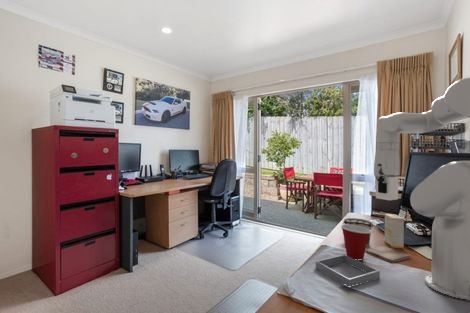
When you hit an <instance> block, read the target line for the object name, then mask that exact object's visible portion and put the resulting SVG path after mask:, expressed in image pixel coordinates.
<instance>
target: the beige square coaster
mask: <svg viewBox="0 0 470 313" xmlns="http://www.w3.org/2000/svg"><path fill="white" fill-rule="evenodd" d="M365 253H367V254H369V255H372V256H374V257H376V258H379V259H382V260H384V261H387V262H390V263H393V264H394V263H397V262H401V261H404V260H407V259H410V258H411V255H410V254H407V253H405V252H401V251H398V250H396V249H393V248H392V247H391V248H389V247H387V246H385V245H379V246H376V247H372V248H371V247H370V248H368V249H367V248H366V250H365Z"/></svg>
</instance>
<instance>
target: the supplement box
mask: <svg viewBox="0 0 470 313" xmlns="http://www.w3.org/2000/svg"><path fill="white" fill-rule="evenodd" d="M404 224H405V220H404V218H403V217H401V216H399V215H397V214H393V213H385V214H384V242H385V243H387V245H389V246H390V247H391V248H392V249H393V248H395V249H404V231H405V230H404V226H405V225H404Z"/></svg>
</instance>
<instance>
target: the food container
mask: <svg viewBox="0 0 470 313" xmlns="http://www.w3.org/2000/svg"><path fill="white" fill-rule="evenodd" d="M343 224H349V225H356V226H361V227H365V228H367V229H370V230H371V231H372V229H373V228H374V225H373V222H372V221H370V220H367V219H363V218H355V217H348V218H344V219H343V223H342V225H343ZM371 233H372V232H371ZM371 233H370V235H369V238H368V241H367V246H369V245H370V242H371V235H372V234H371Z"/></svg>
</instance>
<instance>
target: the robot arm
mask: <svg viewBox="0 0 470 313" xmlns="http://www.w3.org/2000/svg"><path fill="white" fill-rule="evenodd" d="M430 108H431V109H430V110H428V111H425V112H419V113H417V112H396V113H392V114H390V115H386V116H381V117H378V118H377V127H376V128H377V130H376V131H377V132H376V137H377V138H376V151H375V155H374V164H373V176H374V177H375V180H376V179H377V182H378V192H379V193H387V183H386V177H387V176H394V177H398V178H399V177H400V175H401V171H400V170H401V169H400V168H401V166H400V165H401V162H400V134H419V135H420V134H425V133H429V132H434V131H437V130H440V129H444V128H445V127H447V126H448V125H450V124H451V123H454V122H459V121H461V120H465V119H470V77H466V78H462V79H458V80H456V81H455V82H453V83H452V84H451V85H450V86H448V88H447V89H446V91H445V93H444V95H441V96H439V97H438V98H436V99H434V101H432V103H431V106H430ZM382 177H383V178H382ZM409 200H410V206H411V207H412V209H413V210H414V211H415V212H416V213H417V214H419V215H422V216H424V217H428V218H434V220H433V222H432V227H431V228H432V230H431V265H430V266H431V269H430V272H431V273H430V274H429V275H426V276H425V277H424V283H425V282H426V283H425V284H426V285H427V286H428V287H429V288H430V287H431V288H430V289H432V288H433V289H434V291H435V290H436V291H435V292H437V291H439V292H441V293H440V294H442V293H445V294H447V295H450V296H453V297H456V298H455V299H457V298H462V299H470V160H456V161H450V162H448V163H446V164H443V165H442V166H440V167H438V168H437V169H436V170H435V171H433V172H432V173H431V174H430V175H429V176H427V177H426V178H425V179H424V180H423V181H421V182H420V183H418V184H417V185H416V187H415V188H413V190H412V192H411V194H410V197H409ZM433 289H432V290H433ZM439 292H438V293H439ZM447 295H446V296H447ZM450 296H449V297H450ZM453 297H452V298H453ZM462 299H461V300H462Z"/></svg>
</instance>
